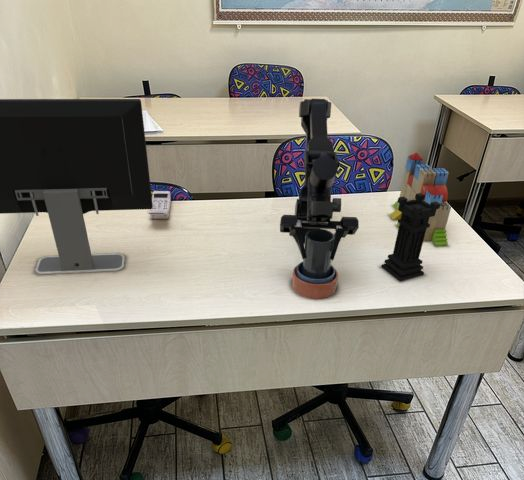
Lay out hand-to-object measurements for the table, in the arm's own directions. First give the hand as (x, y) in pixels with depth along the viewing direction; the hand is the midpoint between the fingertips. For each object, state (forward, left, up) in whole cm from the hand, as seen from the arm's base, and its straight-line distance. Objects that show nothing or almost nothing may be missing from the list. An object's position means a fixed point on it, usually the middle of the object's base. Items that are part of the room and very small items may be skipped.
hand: (317, 259), depth 124 cm
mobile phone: (+22, -57, -9) cm, 62 cm away
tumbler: (-1, -1, -7) cm, 7 cm away
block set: (-49, -19, -9) cm, 53 cm away
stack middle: (-1, -1, -9) cm, 9 cm away
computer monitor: (+51, -35, -9) cm, 63 cm away
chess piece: (-27, +2, -9) cm, 28 cm away
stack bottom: (-1, -1, -9) cm, 9 cm away
